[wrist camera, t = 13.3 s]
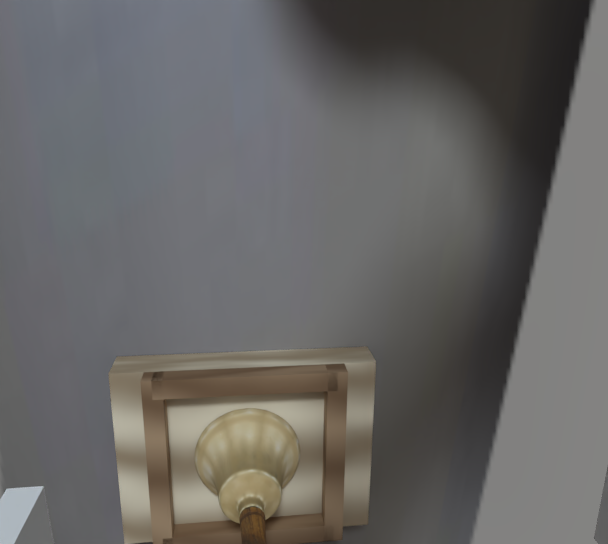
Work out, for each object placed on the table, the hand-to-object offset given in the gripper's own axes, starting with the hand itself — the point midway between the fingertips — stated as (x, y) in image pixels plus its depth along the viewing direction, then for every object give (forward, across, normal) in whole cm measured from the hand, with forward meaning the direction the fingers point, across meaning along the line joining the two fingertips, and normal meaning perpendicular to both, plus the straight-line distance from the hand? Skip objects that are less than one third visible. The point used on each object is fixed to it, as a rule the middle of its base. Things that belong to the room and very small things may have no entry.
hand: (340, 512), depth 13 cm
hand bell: (+27, -3, -18) cm, 32 cm away
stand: (+30, -3, -18) cm, 35 cm away
